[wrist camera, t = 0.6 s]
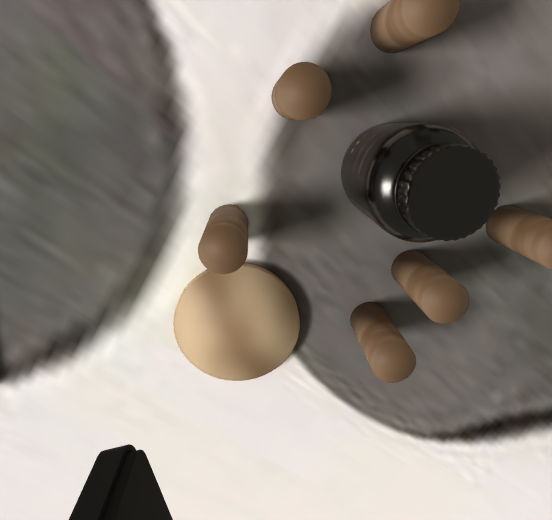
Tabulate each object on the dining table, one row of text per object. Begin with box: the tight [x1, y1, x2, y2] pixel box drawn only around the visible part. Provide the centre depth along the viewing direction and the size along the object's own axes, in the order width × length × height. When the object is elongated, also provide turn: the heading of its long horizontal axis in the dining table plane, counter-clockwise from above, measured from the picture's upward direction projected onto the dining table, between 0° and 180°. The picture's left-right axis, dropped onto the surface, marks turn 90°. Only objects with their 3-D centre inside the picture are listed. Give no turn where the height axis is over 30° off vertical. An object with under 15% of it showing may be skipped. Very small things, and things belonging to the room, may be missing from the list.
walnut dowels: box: [198, 0, 552, 383], centre depth 30 cm, size 21×21×7 cm
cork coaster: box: [173, 263, 300, 381], centre depth 36 cm, size 10×10×1 cm
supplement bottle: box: [341, 123, 500, 242], centre depth 27 cm, size 7×7×12 cm
